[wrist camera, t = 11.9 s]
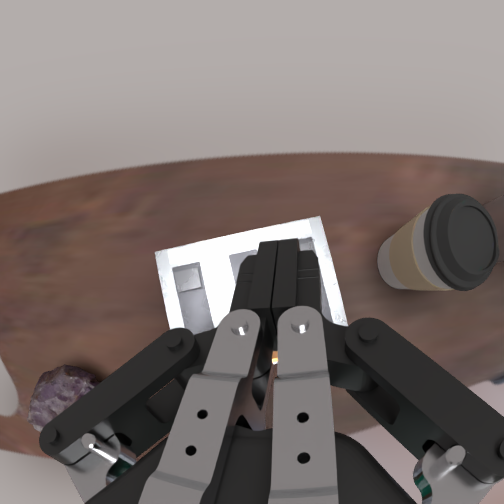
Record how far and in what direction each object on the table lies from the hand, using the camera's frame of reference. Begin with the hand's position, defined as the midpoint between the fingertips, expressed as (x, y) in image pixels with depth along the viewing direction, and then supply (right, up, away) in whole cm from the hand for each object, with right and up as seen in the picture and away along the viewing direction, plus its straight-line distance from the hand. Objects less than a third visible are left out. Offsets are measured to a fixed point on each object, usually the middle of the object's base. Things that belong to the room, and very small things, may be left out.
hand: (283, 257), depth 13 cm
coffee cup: (+17, -1, +25) cm, 30 cm away
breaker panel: (-1, -5, +23) cm, 23 cm away
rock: (-21, -18, +20) cm, 34 cm away
